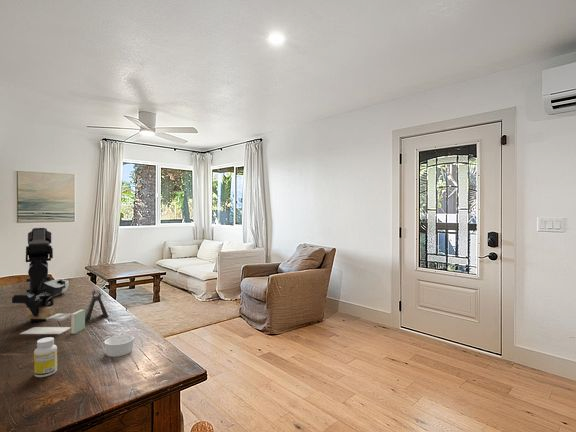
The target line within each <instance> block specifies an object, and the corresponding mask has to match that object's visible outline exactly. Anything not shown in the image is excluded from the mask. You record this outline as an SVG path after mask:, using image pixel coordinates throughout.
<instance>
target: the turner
mask: <svg viewBox="0 0 576 432" xmlns="http://www.w3.org/2000/svg"><path fill="white" fill-rule="evenodd" d="M71 314H72V313H56V314H55V306H51V307H39V311H38V316H37V317H35V316H34V315H33V314H32V312H31V311H30V309H29V308H27V307H25V320H30V319H46V321H45V322H49V321H54V322H55V321H57V322H58V321H59V322H60V321H61V322H62V321H65V320H67V319H68V318H70V317H71Z"/></svg>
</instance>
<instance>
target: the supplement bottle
mask: <svg viewBox="0 0 576 432" xmlns="http://www.w3.org/2000/svg"><path fill="white" fill-rule="evenodd" d="M54 343H55V338H54V337H51V336H49V337H43V338H39V339H38V340H37V341H36V348H35V349H34V351H33V361H34V362H33V365H34V367H33V368H34V370H33V372H34V377H36V378H44V377H49V376H52V375H53V374H55V373H56V372H58V346H57V345H56V344H54Z"/></svg>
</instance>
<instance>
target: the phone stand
mask: <svg viewBox="0 0 576 432" xmlns="http://www.w3.org/2000/svg"><path fill="white" fill-rule="evenodd" d="M96 292H97V293H96ZM91 294H92V297H91V300H90V302H89V305H88V307H87V310H86V311H85V322H86V321H90V320H91V317H92V314H93V310H94V306H95V303H96V302H98V303H99V307H100V310H101V312H102V313H101V314H102V317H103V318H104V319H107V318H109V314H108V312H107V309H106V306H104V305H105V304H104V303H103V301H102V299H101V298H102V297H101V296H102V293H101V291H100V289H97V290H95V289H94V290H93V291H91ZM96 294H98V295H96Z"/></svg>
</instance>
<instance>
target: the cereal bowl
mask: <svg viewBox="0 0 576 432" xmlns="http://www.w3.org/2000/svg"><path fill="white" fill-rule="evenodd" d="M51 280H52V281H54V282H55V281H58V280H59V279H51ZM64 280H65V288H64V289H62V292H61V293H64V292H66V290H68V288H69V284H70V283H69V282H70V281H69V280H67V279H64ZM61 293H59V294H57V295H54V297H57V296H59V295H60V294H61Z"/></svg>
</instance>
